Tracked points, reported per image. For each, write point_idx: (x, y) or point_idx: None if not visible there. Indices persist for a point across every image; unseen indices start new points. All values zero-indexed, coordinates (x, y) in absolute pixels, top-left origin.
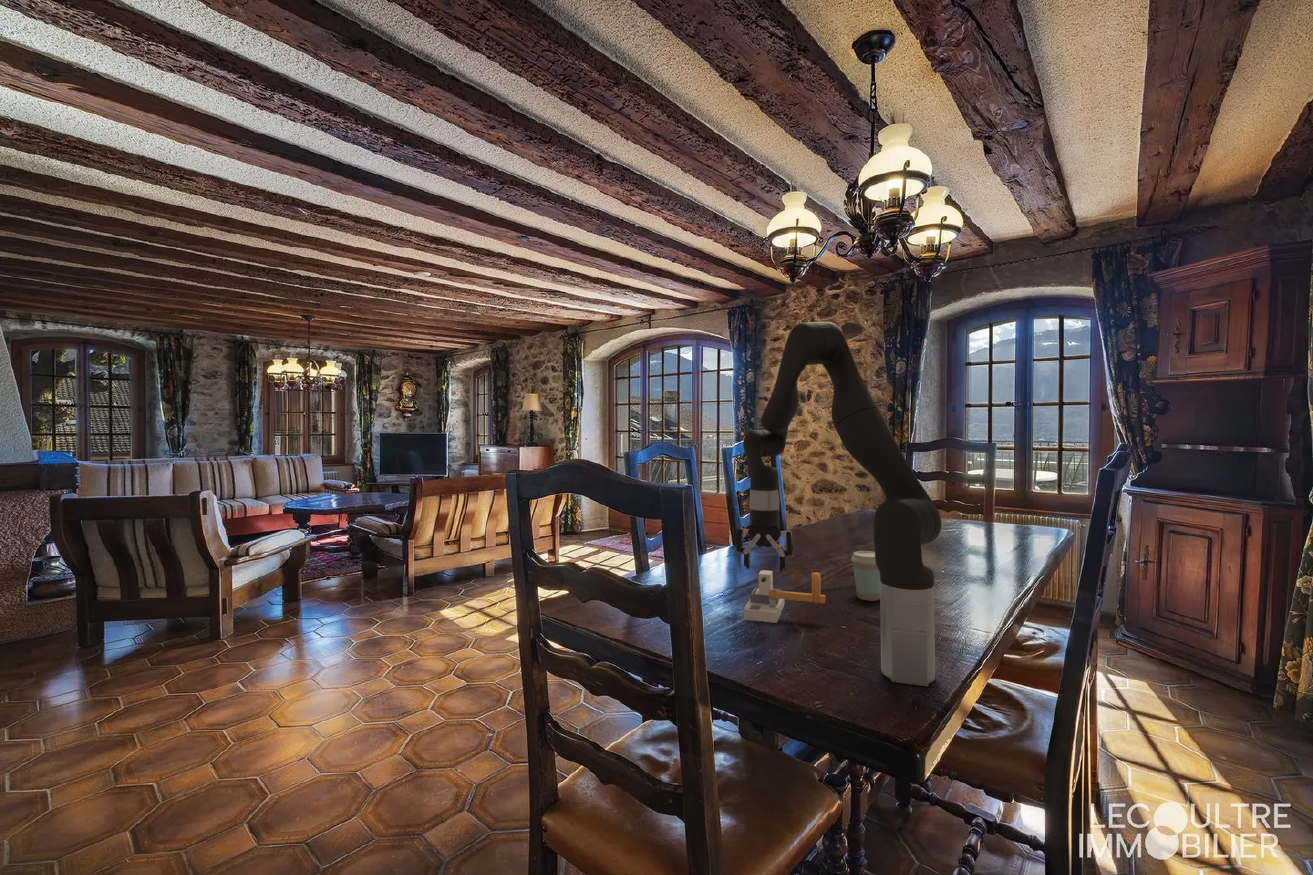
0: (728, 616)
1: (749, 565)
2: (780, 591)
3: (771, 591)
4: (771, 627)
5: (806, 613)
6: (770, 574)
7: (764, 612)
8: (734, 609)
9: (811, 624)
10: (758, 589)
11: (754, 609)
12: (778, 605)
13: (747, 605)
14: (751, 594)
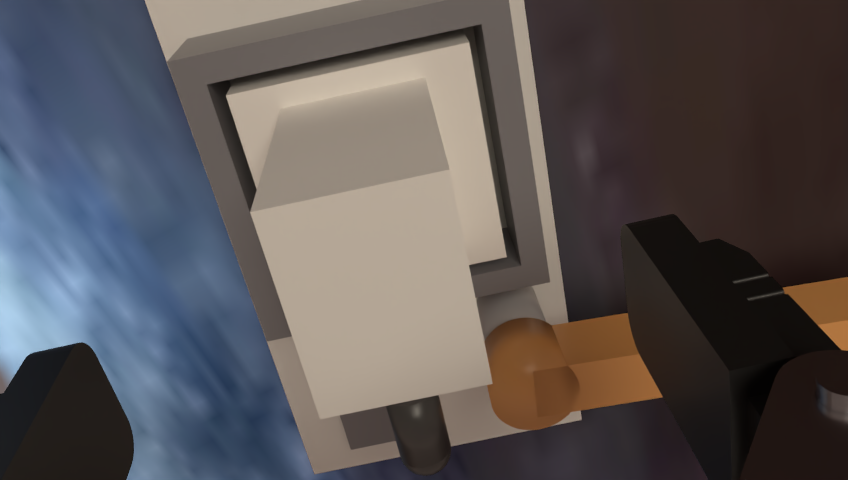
0: (185, 415)
1: (102, 430)
2: (622, 383)
3: (532, 421)
4: (550, 449)
5: (748, 45)
6: (487, 367)
7: (483, 434)
8: (127, 259)
9: (808, 276)
10: (257, 141)
11: (393, 437)
12: (548, 260)
13: (296, 385)
14: (278, 338)
